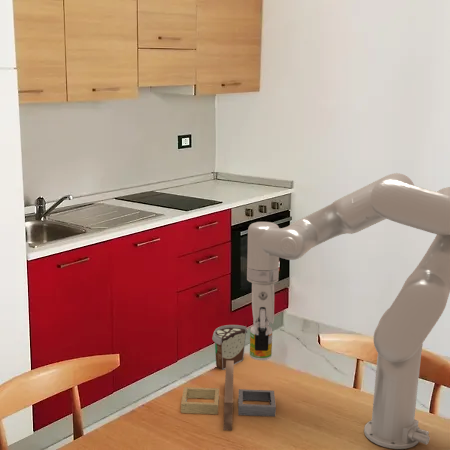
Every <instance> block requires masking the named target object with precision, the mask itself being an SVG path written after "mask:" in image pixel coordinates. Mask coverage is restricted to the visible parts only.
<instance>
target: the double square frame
mask: <svg viewBox="0 0 450 450" xmlns="http://www.w3.org/2000/svg"><path fill="white" fill-rule="evenodd" d="M237 396H238V402H237V403H238V411H237V412H238V416H249V417H251V416H252V417H276V414H277V413H276V412H277V411H276V410H277V405H276V404H277V403H276V397H275V390H268V389H266V390H263V389H244V388H243V389H242V388H239V389H238V395H237ZM197 398H204V399H203V400H214V402H203V401H200V402H199V401H188V399H197ZM219 399H220V388H218V387H217V388H216V387H214V388H213V387H189V386H184V387H183V391H182V397H181V402H180V413H181V414H193V415H195V414H198V415H199V414H201V415H218V414H219ZM244 401H252V402H253V401H255V402H256V401H257V402H269V404H254V403H253V404H251V403H244Z"/></svg>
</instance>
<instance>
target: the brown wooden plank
mask: <svg viewBox="0 0 450 450" xmlns="http://www.w3.org/2000/svg"><path fill="white" fill-rule="evenodd" d="M234 366H235V365H234V361H230V360H226V369H225V379H224V398H223V399H224V403H223V405H224V406H223V426H222V427H223V431H233V414H234V413H233V411H234V370H235V369H234V368H235V367H234Z"/></svg>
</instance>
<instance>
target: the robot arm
mask: <svg viewBox="0 0 450 450" xmlns="http://www.w3.org/2000/svg"><path fill="white" fill-rule="evenodd" d="M385 220H389V221H392V222H395V223H398V224H401V225H403V226H407V227H410V228H414V229H416V230H420V231H423V232H426V233H431V234H434V235H435V237H434V239H433V240H432V242H431V243H430V245H429V247H428V249H427V251H426V252H425V254H424V256H423V257H422V259H421V260H420V262H419V263H418V264H417V266H416V268H415V269H414V270H413V271H412V272H411V274H410V275H409V276H408V277H406V280H405V281H404V283H403V285H402V288H401V289H400V291H399V292H398V294H397V296H396V297H395V299H394V300H393V301H392V304H391V305H390V307H389V308H387V309H386V310H385V312H384V313H383V314H382V316H381V317H380V320H379V321H378V324H377V326H376V327H375V330H374V332H373V346H374V348H375V350H376V352H377V356H376V357H377V358H376V369H375V376H374V377H375V379H374V388H373V389H374V390H373V391H374V392H373V400H372V402H373V403H372V411H371V412H372V413H371V415H372V416H371V420H370V421H368V422H367V423H366V424H364V428H363V433H364V435H365V437H366V438H367V439H368V440H369V441H370V442H372V443H373V444H376V445H378V446H380V447H384V448H387V449H394V450H404V449H405V450H406V449H410V448H413V447H415V446H416V445H418V444H419V443H421V444H424V445H426V446H427V445H428V444H429V442H430V436H429V433H430V432H429V431H428V430H425V429H421V428H420V427H419V420H418V419H415V418H416V407H417V396H418V386H419V378H420V367H421V359H422V351H423V344H424V341H425V340H426V339H427V337H428V336H429V334H430V333H431V331H432V330H433V329H434V327H435V325H436V324H437V323H438V321H439V319H440V317H441V316H442V315H443V313H444V311H445V309H446V307H447V303H448V300H449V297H450V186H447V187H443V188H440V189H439V190H438V191H436V190H431V189H428V188H424V187H421V186H417V185H415V184H414V182H413V180H412V179H411V178H410V177H409V176H407V175H405V174H403V173H398V172H396V173H391V174H388V175H385V176H383V177H380V178H379V179H377V180H375V181H373V182H370V183H369V184H367V185H364V186H363V187H361V188H359V189H356V190H355V191H353V192H351V193H348V194H347V195H344V196H342V197H340V198H339V199H336V200H335V201H334V202H332V203H331V204H328V205H326V206H325V207H322V208H320V209H318V210H316V211H313V212H311V213H310V214H308V215H306V216H304V217H302V218H299V219H297V220H296V221H294V222H292V223H291V224H289V225H288V226H285V227H282V228H281V227H279V225H278V224H276V223H275V222H271V221H256V222H253V223H251V224H249V226H248V227H247V228H248V229H247V256H246V257H247V261H246V263H247V265H246V267H247V268H246V269H247V270H246V280H247V281H248V282H249V283H251V309H252V318H253V319H252V320H254V322H255V323H256V334H255V350H256V351H268V339H269V334H268V321H269V323H270V324H271V325H272V324H274V322H275V284H276V283H278V282H279V274H280V273H279V272H280V270H279V268H280V266H279V265H280V258H281V259H283V260H284V259H285V260H288V261H294V260H299V259H301V258H302V257H303V256H304V255H306V253H308V252H309V250H311V249H313V248H315V247H317V246H319V245H321V244H323V243H325V242H327V241H329V240H331V239H333V238H336V237H338V236H341V235H346V234H350V235H353V234H356V233H359V232H361V231H363V230H365V229H368V228H371V226H374V225H376V224H378V223H380V222H383V221H385ZM258 320H260V322H258ZM265 320H266V322H265ZM259 325H260V327H259ZM265 325H266V327H265Z"/></svg>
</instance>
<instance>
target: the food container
mask: <svg viewBox="0 0 450 450" xmlns="http://www.w3.org/2000/svg"><path fill="white" fill-rule="evenodd" d="M247 334H248V327H247V326H244V325H239V324H226V325H221V326H219V327H217V328H215V330H214V331H213V334H212V338H211V339H212V341H213V342H214V350H215V354H214V355H215V366H216V368H218V369H219V370H220V371H224V370H226V360H230V361H234V366H235V365H236V364H239V363H240V362H242V361H244V357H245V348H246V337H247Z"/></svg>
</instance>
